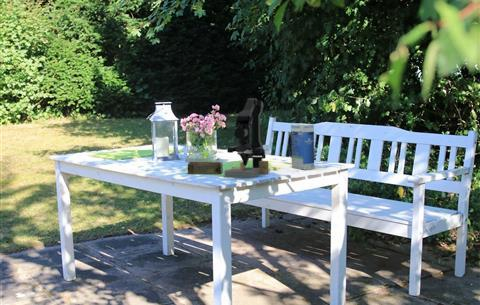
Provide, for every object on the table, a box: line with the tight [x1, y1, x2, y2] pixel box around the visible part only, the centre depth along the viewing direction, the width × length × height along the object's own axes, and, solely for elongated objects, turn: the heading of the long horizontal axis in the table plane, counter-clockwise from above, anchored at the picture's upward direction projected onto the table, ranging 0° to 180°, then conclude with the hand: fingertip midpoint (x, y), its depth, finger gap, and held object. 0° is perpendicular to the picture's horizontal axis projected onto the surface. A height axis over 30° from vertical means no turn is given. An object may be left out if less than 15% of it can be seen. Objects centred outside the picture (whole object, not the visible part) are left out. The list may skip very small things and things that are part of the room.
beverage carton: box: [187, 161, 224, 175], centre depth 321 cm, size 8×19×7 cm, turn 84°
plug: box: [259, 160, 269, 175], centre depth 315 cm, size 4×4×7 cm
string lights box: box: [290, 122, 315, 171], centre depth 331 cm, size 13×8×26 cm, turn 30°
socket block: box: [223, 166, 261, 179], centre depth 310 cm, size 12×16×4 cm
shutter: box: [230, 161, 247, 170], centre depth 310 cm, size 6×6×4 cm
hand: (245, 165), depth 309 cm, fingers closed
